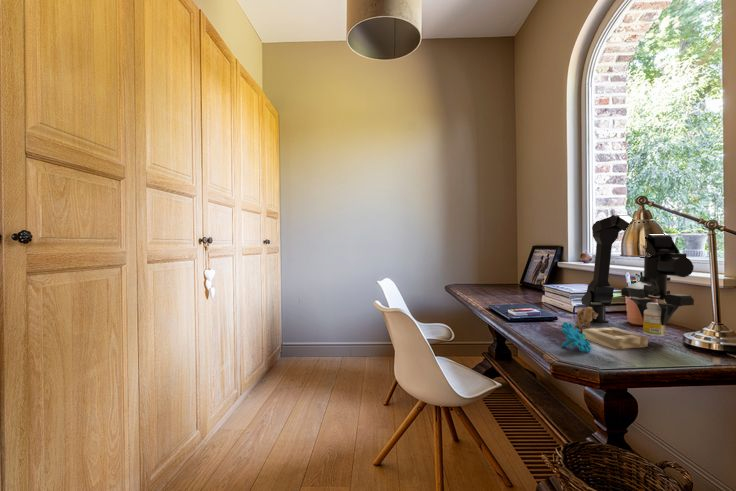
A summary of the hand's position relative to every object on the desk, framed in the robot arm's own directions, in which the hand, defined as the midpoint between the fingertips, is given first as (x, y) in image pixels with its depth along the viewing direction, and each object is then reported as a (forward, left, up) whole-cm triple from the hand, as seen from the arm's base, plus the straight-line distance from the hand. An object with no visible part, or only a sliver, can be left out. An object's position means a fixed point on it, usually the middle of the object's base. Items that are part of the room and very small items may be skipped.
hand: (654, 323), depth 113 cm
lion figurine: (+8, -19, -7) cm, 22 cm away
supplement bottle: (0, 0, -4) cm, 4 cm away
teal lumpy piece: (+29, +1, -7) cm, 30 cm away
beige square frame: (+12, -3, -6) cm, 14 cm away
